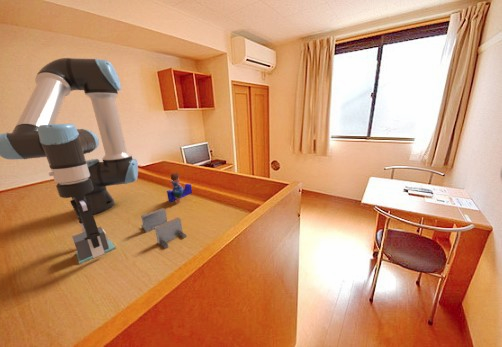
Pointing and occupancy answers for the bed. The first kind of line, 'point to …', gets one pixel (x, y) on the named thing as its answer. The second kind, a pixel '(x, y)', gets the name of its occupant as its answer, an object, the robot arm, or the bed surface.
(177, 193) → the toy character
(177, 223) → the channel
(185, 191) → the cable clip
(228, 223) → the bed surface
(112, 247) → the mat
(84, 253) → the grey rectangular block
